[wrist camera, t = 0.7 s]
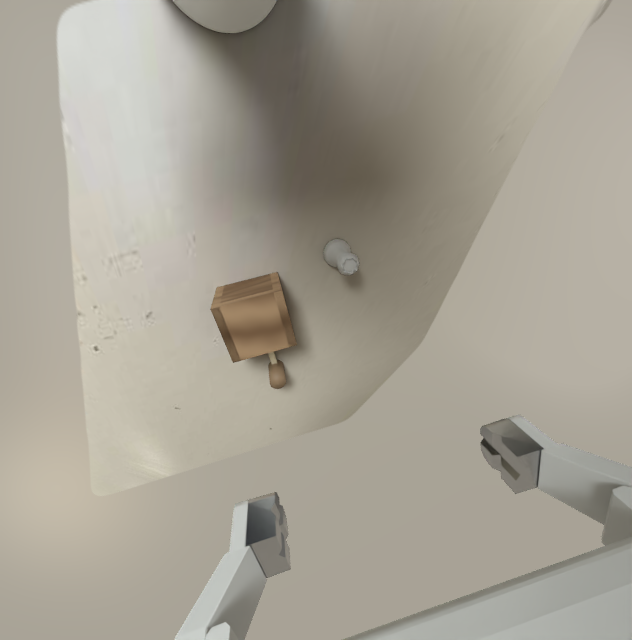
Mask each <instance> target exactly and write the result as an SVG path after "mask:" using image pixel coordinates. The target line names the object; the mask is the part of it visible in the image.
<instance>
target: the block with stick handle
mask: <svg viewBox="0 0 632 640" xmlns="http://www.w3.org/2000/svg"><path fill="white" fill-rule="evenodd" d="M268 355H269V358H270V361H271V362H270V363H269V378H270V385H271V387H273V388H275V389H280V388H282V387H284V386H285V384H286V378H285V372H284V366H283V362H282V361H280V360H276V356H275V353H274V352H270V353H268Z"/></svg>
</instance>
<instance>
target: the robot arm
mask: <svg viewBox="0 0 632 640" xmlns="http://www.w3.org/2000/svg"><path fill="white" fill-rule="evenodd" d="M172 1H173V2H174V3H175V4H176V5H177V6H178V7H179V8H180V9H181V10H182V11H183V12H184V13H185V14H186V15H187V16H188V17H190V18H191V19H192V20H194V21H195V22H197V23H198V24H200V25H202V26H204V27H206V28H208V29H211V30H214V31H217V32H222V33H238V32H242V31H246V30H248V29H250V28H252V27H254V26H256V25H257V24H259V23H260V22H261V21H262V20H263V19H264V18H265V17H266V16H267V15H268V14H269V13H270V11H271V10H272V8H273V7H274V5H275V3H276V1H277V0H172ZM480 434H481V435H482V436H483V437H484V438H483V440H482V441H481V451H482V453H483V455H484V457H485V459H486V461H487V462H488V463H489V465H491V467H492V468H494V469H496V470H499V471H500V472H501V478H502V479H503V480H504V481H505V483H506V484H507V485H508V486H509V487H510V488H511V489H512V491H513V492H514V493H515V494H517V493H520V492H523V491H527V490H530V489H533V488H537V487H538V489H540V490H541V491H543V492H545V493H547V494H549V495H551V496H553V497H554V498H556V499H558V500H560V501H562V502H563V503H565V504H567V505H569V506H571V507H573V508H574V509H576V510H578V511H580V512H582V513H583V514H585V515H587V516H589V517H591V518H592V519H594V520H596V521H598V522H600V523H602V524H603V525H604V529H603V533H602V543H603V544H604V545H605V546H604V547H601V548H598V549H595V550H593V551H590V552H587V553H584V554H581V555H579V556H576V557H573V558H570V559H567V560H565V561H562V562H559V563H556V564H553V565H550V566H548V567H545V568H542V569H539V570H536V571H533V572H531V573H528V574H525V575H522V576H519V577H517V578H514V579H511V580H508V581H506V582H503V583H500V584H497V585H494V586H491V587H489V588H486V589H483V590H480V591H477V592H475V593H472V594H469V595H466V596H463V597H460V598H458V599H455V600H452V601H449V602H446V603H444V604H441V605H438V606H435V607H432V608H430V609H427V610H424V611H421V612H418V613H416V614H413V615H410V616H407V617H405V618H402V619H399V620H396V621H393V622H390V623H388V624H385V625H382V626H379V627H377V628H374V629H371V630H368V631H365V632H362V633H360V634H357V635H354V636H351V637H348V638H346V639H343V640H632V467H630V466H627V465H624V464H621V463H618V462H615V461H612V460H609V459H606V458H603V457H600V456H597V455H595V454H592V453H589V452H586V451H583V450H580V449H577V448H574V447H571V446H568V445H565V444H557V443H556V442H555V441H553V440H552V439H551V438H550V437H548V436H547V435H546V434H544V433H543V432H542V431H541V430H539V429H538V428H537V427H536V426H534V425H533V424H532V423H530V422H529V421H528V420H527V419H525V418H524V417H523V416H521V415H516V416H512V417H509V418H506V419H502V420H499V421H496V422H493V423H490V424H487V425H484V426H482V427H481V429H480ZM287 536H288V526H287V520H286V515H285V512H284V509H283V506H281V505H280V504H279V497H278V494H277V493H276V492H274V493H270V494H267V495H263V496H260V497H256V498H253V499H249V500H246V501H243V502H239V503H236V504H235V507H234V512H233V521H232V531H231V540H230V549H229V552H228V553H226V554H225V555H224V556H223V558H222V560H221V562H220V563H219V565H218V566H217V568H216V570H215V571H214V573H213V575H212V576H211V578H210V580H209V582H208V583H207V585H206V587H205V588H204V590H203V592H202V593H201V595H200V597H199V599H198V600H197V602H196V604H195V605H194V607H193V608H192V610H191V612H190V614H189V615H188V617H187V619H186V620H185V622H184V624H183V625H182V627H181V629H180V630H179V632H178V634H177V636H176V637H175V640H244V639H245V636H246V634H247V631H248V629H249V626H250V624H251V621H252V618H253V615H254V613H255V610H256V607H257V605H258V602H259V600H260V597H261V595H262V592H263V589H264V587H265V584H266V581H267V579H266V578H268V577H271V576H274V575H277V574H279V573H282V572H285V571H287V570H290V569H291V568H290V552H289V546H288V544H287V541H286V538H287Z"/></svg>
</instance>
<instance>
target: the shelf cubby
mask: <svg viewBox="0 0 632 640" xmlns="http://www.w3.org/2000/svg"><path fill="white" fill-rule="evenodd" d="M211 311H212V314H213V316H214V319H215V321H216V323H217V326H218V328H219V330H220V333H221V335H222V338H223V340H224V342H225V345H226V347H227V349H228V352H229V354H230V356H231V359H232V361H233V363H234V362H238V361H241V360H245V359H248V358H252V357H256V356H259V355H263V354H266V353H270V352H274V351H277V350H281V349H284V348H288V347H292V346H295V345H297V343H296V339H295V335H294V331H293V327H292V324H291V320H290V316H289V313H288V309H287V305H286V302H285V298H284V294H283V291H282V287H281V284H280V280H279V276H278V273H277V272H276V273H272V274H268V275H264V276H260V277H256V278H252V279H248V280H245V281H241V282H237V283H233V284H229V285H225V286H221V287H217V289H216V292H215V295H214V299H213V302H212V306H211Z"/></svg>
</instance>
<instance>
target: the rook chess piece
mask: <svg viewBox="0 0 632 640" xmlns="http://www.w3.org/2000/svg"><path fill="white" fill-rule="evenodd" d="M323 255H324V259H325V261H326V262H327V263H328V264H329V265H331V266H332V267H338V270H339V272H340V273H342V274H343V275H352V274H353V273H355V272H357V270H358V268H359V264H360V263H359V259H358V257H357V256H356V255H355V254H353V253H351V248H350V247H349V245H348V244H347V242H345V241H344V240H341V239H334V240H331V241H330V242H329V243H327V245H326V246H325V248H324V252H323Z"/></svg>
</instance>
